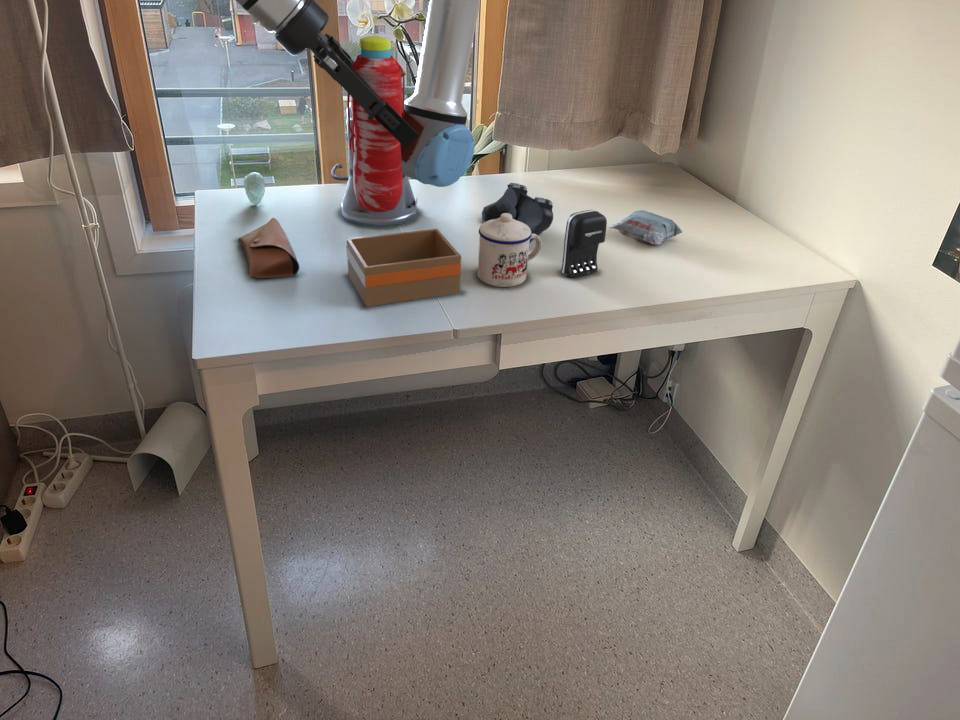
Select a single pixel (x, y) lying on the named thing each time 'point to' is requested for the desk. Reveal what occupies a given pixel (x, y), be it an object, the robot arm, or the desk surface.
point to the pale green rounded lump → (254, 187)
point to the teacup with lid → (505, 251)
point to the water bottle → (379, 129)
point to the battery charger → (583, 242)
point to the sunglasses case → (269, 252)
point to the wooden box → (403, 267)
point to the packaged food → (647, 227)
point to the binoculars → (522, 209)
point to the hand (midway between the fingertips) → (407, 132)
